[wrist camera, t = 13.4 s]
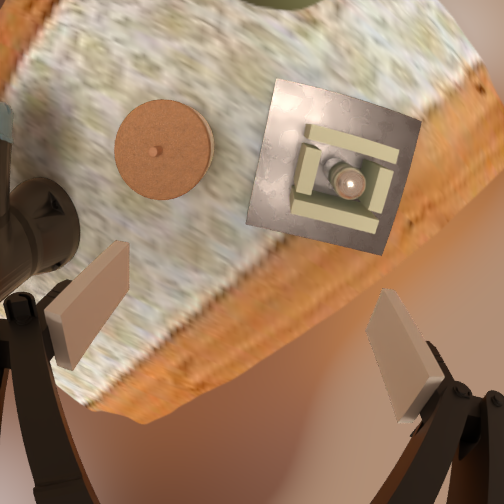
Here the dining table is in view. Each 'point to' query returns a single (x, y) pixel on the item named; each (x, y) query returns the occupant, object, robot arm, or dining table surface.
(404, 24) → the dining table surface
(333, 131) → the square link
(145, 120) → the lidded jar
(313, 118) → the keeper base
